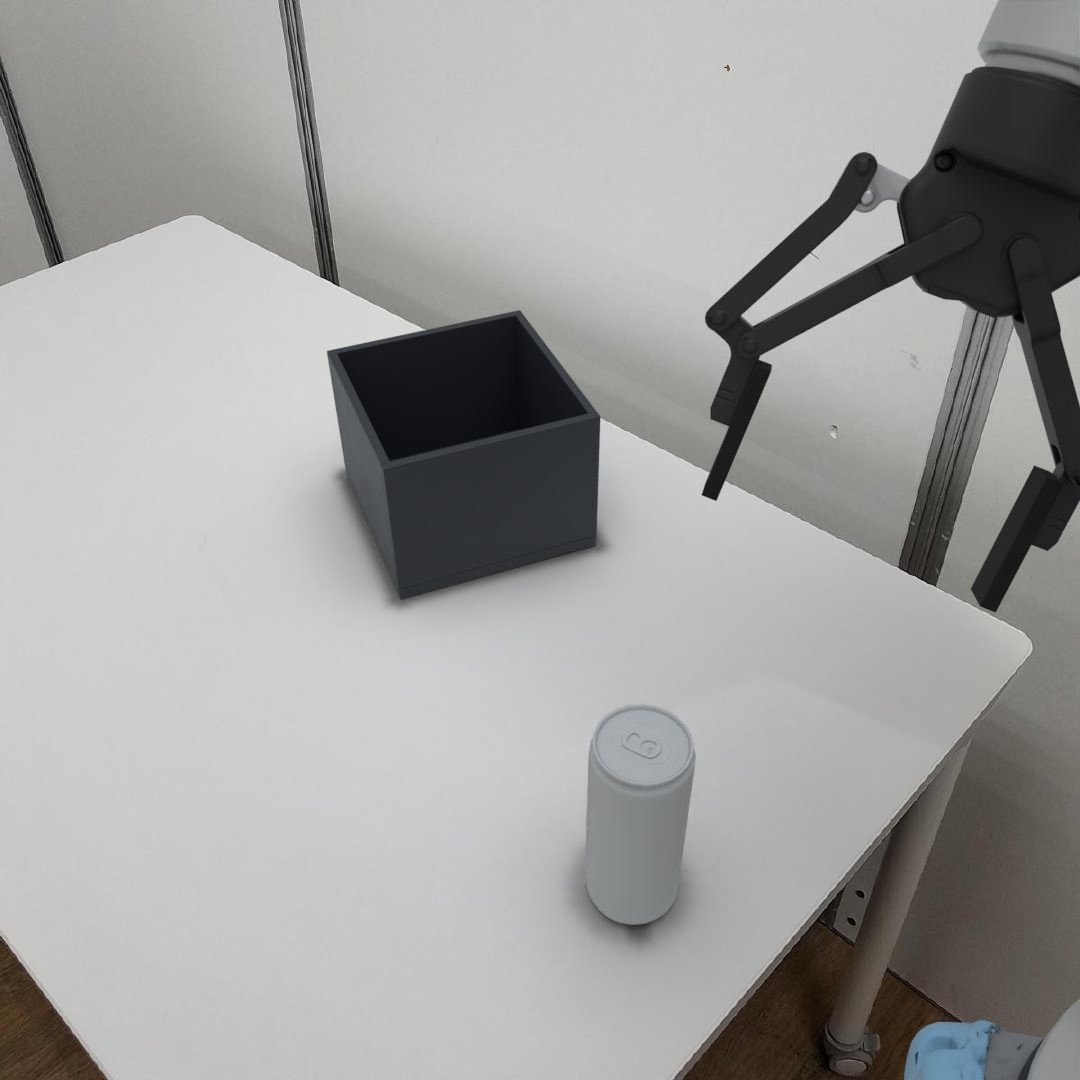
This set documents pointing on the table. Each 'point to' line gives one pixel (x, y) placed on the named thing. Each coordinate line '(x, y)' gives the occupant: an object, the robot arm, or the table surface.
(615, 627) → the table surface
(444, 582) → the trash bin
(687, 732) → the beverage can
